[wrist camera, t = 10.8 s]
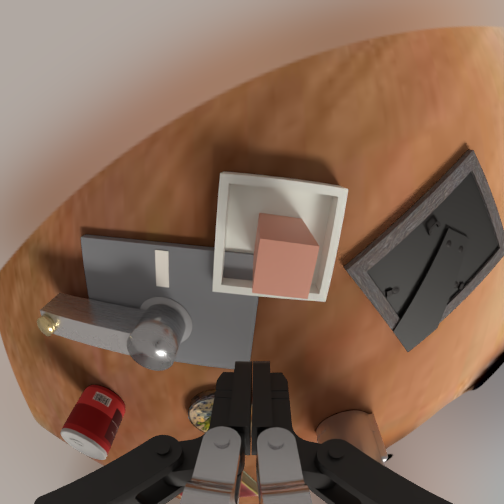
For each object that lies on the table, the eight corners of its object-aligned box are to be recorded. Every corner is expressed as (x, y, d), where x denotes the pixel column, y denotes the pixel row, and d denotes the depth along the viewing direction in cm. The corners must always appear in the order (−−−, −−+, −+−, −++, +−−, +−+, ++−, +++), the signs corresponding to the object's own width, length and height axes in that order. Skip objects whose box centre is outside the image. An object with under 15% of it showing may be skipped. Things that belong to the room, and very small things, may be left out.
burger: (178, 413, 38) (168, 450, 31) (211, 375, 34) (202, 419, 27) (242, 438, 40) (240, 473, 33) (284, 405, 36) (287, 446, 29)
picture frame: (402, 343, 32) (502, 245, 27) (407, 352, 30) (510, 250, 25) (342, 264, 29) (465, 149, 23) (347, 272, 27) (475, 150, 21)
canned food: (78, 382, 36) (51, 427, 26) (111, 383, 36) (84, 435, 25) (101, 411, 39) (80, 455, 29) (134, 413, 38) (115, 463, 28)
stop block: (301, 218, 26) (319, 246, 18) (294, 258, 27) (307, 298, 20) (259, 212, 26) (259, 238, 18) (253, 253, 27) (252, 292, 19)
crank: (185, 307, 28) (171, 339, 23) (186, 343, 30) (174, 377, 25) (57, 284, 28) (32, 306, 23) (65, 318, 30) (43, 342, 25)
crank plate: (263, 252, 28) (263, 256, 27) (248, 365, 33) (248, 371, 32) (85, 234, 27) (79, 237, 26) (102, 340, 32) (98, 345, 31)
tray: (339, 185, 25) (348, 189, 23) (320, 289, 29) (325, 301, 26) (223, 171, 25) (220, 173, 23) (216, 279, 29) (212, 291, 26)
